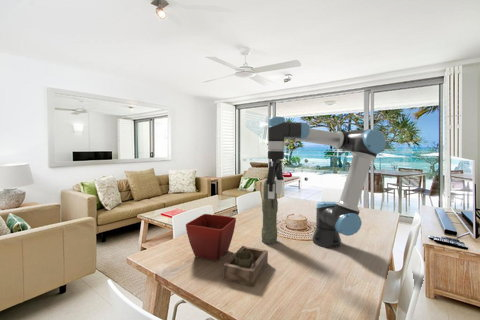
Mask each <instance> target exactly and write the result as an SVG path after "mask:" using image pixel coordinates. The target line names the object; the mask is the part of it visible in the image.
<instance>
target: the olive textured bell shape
mask: <svg viewBox="0 0 480 320" xmlns="http://www.w3.org/2000/svg"><path fill="white" fill-rule="evenodd" d="M235 253H236V254H235ZM235 253H234V254H235V258H236V266H241V267H245V268H251V266H252V260H253V254H251V252H249V253H248V252H247V251H246V253H245V251H241V253H240V252H239V253H237V251H236V252H235Z"/></svg>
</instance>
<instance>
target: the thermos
mask: <svg viewBox="0 0 480 320" xmlns="http://www.w3.org/2000/svg"><path fill="white" fill-rule="evenodd" d="M263 182H264V183H263V193H262V194H263V197H262V201H261V211H262V227H261V242H262V244H265V245H275V244H277V243H278V227H277V224H278V223H277V220H278V212H279V211H278V210H279V209H278V208H279V206H278V204H279V203H278V193H276V180H275V181H274V184H275V194H274V199H269V198H268V184H266V182H267V179H265V180H264V181H263Z"/></svg>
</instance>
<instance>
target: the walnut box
mask: <svg viewBox="0 0 480 320" xmlns="http://www.w3.org/2000/svg"><path fill="white" fill-rule="evenodd" d="M241 251H245V253H246V251H247V252H248V253H249V252H251V254H253V260H252V266H251V268H245V267H241V266H236V258H235V254H236V252H237V253H239V252H240V253H241ZM236 252H235V253H234V254H233V255H232V256H230V258H228V260H227V261H225V263H224V264H223V280H225V281H229V282H233V283H237V284H240V285H245V286H248V287H254V285H255V284H256V282H257V281H258V280H259V278H260V276H261V275H262V273H263V272H264V269H265V268H266V267H267V265H268V264H269V263H268V262H269V261H268V260H269V259H268V254H269V253H268V252H269V251H268V250H267V249H260V248H256V247H250V246H246V245H242V246H241V247H239V248H238V250H237V251H236Z"/></svg>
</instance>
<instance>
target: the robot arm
mask: <svg viewBox="0 0 480 320" xmlns="http://www.w3.org/2000/svg"><path fill="white" fill-rule="evenodd" d="M267 135H268V136H267V143H266V146H267V150H268V151H267V159H268V160H271V161H269V162H268V171H267V177H266V180H267V182H266V184H268V198H269V199H274V194H275V184H274V181H276V193H277V194H282V186H283V185H282V183H283V181H284V175H283V174H284V173H283V166H282V163H283V162H282V160H284V159H285V151H284V150H285V140H289V141H296V142H303V143H311V144H317V145H324V146H331V147H334V148H335V149H339V150H344V151H347V152H350V154H351V155H352V159H351V163H350V165H349V169H348V172H347V175H346V177H345V178H346V179H345V182H344V186H343V189H342V191H341V194H340V199H339V200H338V201H337V202H336V201H318V202H317V203H316V208H315V209H316V215H315V217H316V218H315V220H316V221H315V230H314V232H313V234H312V242H313V243H314V244H316V245H317V246H320V247H322V248H332V249H333V248H339V247H341V245H342V239H341V236H340V235H341V234H342V235H344V236H348V237H350V236H353V235H354V234H357V233H358V232H359V231H360V229H361V227H362V218H361V217H360V215H359V214H360V211H361V210H360V209H359V207H358V206H359V203H360V199H361V197H362V192H363V189H364V187H365V184H366V179H367V176H368V173H369V170H370V167H371V163H372V161H373V160H375V159H376V158H377V157H378V156H377V155H378V154H379V153H382V152H383V151H384V150H385V148H386V145H387V144H386V143H387V142H386V137H385V135H384V134H383V132H382V131H380V130H378V129H375V128H374V129H371V128H368V129H360V130H351V131H350V130H349V131H342V130H338V131H336V132H335V131H330V130H329V131H328V130H324V129H323V130H321V129H316V128H310V125H309V123H307V122H302V121H298V122H297V121H294V122H293V121H292V122H291V121H290V122H289V121H286V118H285V117H283V116H272V117H269V119H268V126H267Z"/></svg>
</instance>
